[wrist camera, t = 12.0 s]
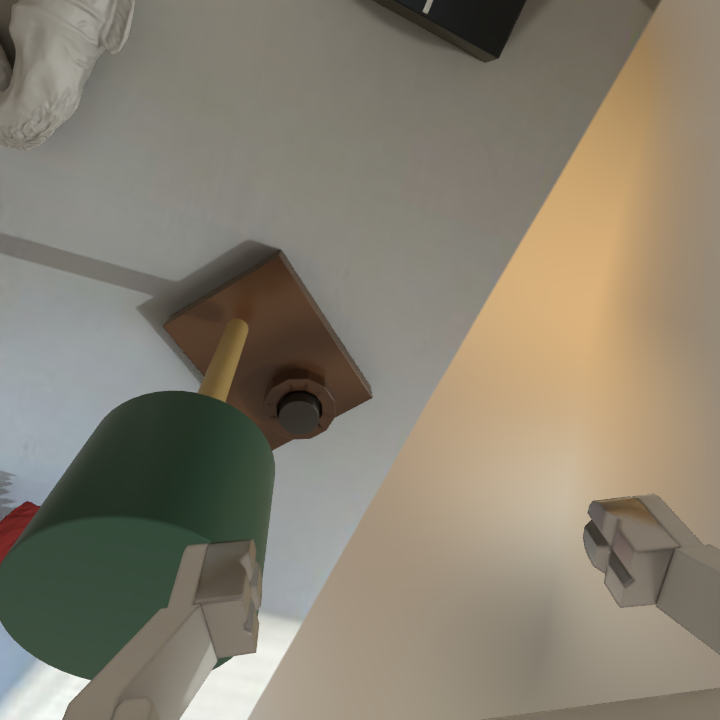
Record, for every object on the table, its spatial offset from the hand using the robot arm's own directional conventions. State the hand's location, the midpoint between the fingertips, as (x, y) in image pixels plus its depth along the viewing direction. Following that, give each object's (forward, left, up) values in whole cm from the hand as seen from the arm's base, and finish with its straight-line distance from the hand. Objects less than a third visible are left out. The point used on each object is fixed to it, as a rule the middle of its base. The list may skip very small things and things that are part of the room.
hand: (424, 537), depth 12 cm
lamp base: (-6, +12, -34) cm, 36 cm away
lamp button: (-11, +12, -30) cm, 34 cm away
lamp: (-1, +12, -30) cm, 32 cm away
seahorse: (+23, +9, -34) cm, 42 cm away
